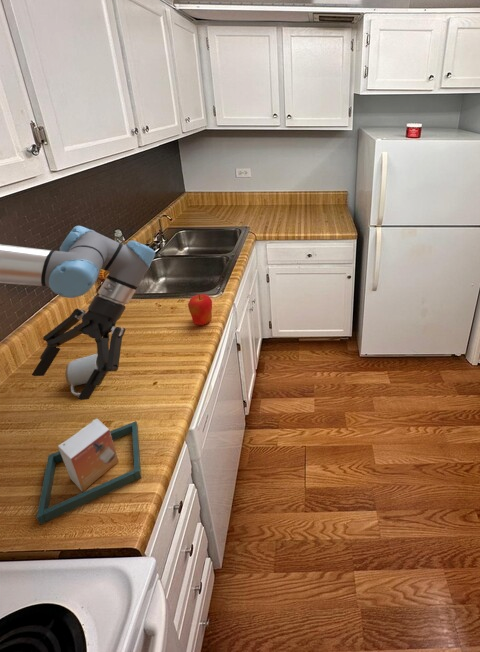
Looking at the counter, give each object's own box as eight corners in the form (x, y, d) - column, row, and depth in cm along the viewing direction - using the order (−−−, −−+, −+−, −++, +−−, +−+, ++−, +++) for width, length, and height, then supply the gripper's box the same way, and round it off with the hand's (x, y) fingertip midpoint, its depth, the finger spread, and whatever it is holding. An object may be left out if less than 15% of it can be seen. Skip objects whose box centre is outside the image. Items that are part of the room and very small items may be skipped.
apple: (187, 321, 126) (183, 294, 121) (208, 312, 131) (204, 286, 127) (196, 332, 120) (192, 304, 115) (218, 322, 125) (215, 295, 121)
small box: (82, 493, 71) (69, 460, 67) (69, 478, 73) (56, 445, 69) (119, 461, 77) (109, 429, 73) (106, 448, 80) (96, 417, 76)
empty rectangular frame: (39, 524, 65) (36, 517, 64) (51, 461, 77) (48, 455, 76) (141, 477, 74) (139, 471, 73) (138, 427, 85) (136, 420, 84)
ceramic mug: (75, 374, 101) (68, 354, 98) (106, 366, 104) (100, 347, 101) (65, 402, 92) (57, 381, 89) (99, 393, 95) (93, 373, 92)
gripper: (61, 279, 82) (4, 365, 75) (144, 315, 77) (91, 411, 70) (83, 286, 89) (33, 366, 82) (160, 319, 84) (114, 407, 77)
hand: (60, 387), depth 76 cm, fingers open, 13 cm apart
